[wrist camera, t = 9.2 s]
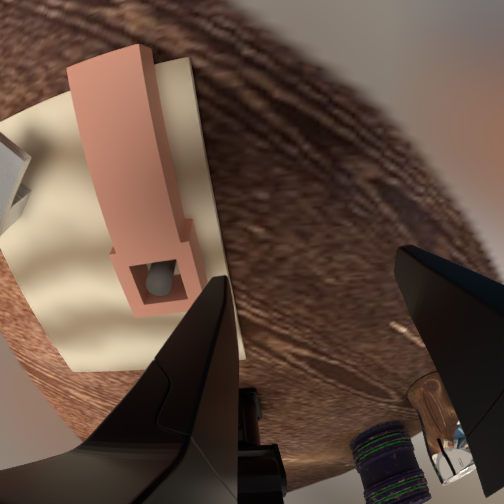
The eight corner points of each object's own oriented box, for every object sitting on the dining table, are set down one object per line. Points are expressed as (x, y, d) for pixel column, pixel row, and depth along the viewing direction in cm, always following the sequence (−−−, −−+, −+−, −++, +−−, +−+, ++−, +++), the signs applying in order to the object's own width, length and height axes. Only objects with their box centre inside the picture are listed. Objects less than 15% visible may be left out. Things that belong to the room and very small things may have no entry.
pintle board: (244, 349, 29) (248, 387, 25) (75, 363, 28) (64, 396, 25) (190, 58, 16) (181, 52, 12) (-27, 138, 16) (-63, 155, 12)
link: (207, 281, 23) (207, 308, 20) (142, 290, 23) (135, 317, 20) (160, 46, 15) (148, 40, 12) (81, 70, 15) (58, 71, 12)
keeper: (59, 142, 17) (24, 161, 13) (23, 219, 19) (-8, 249, 15) (29, 118, 15) (-10, 133, 12) (-4, 197, 18) (-38, 223, 14)
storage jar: (408, 412, 41) (439, 491, 28) (400, 435, 46) (425, 503, 33) (348, 433, 41) (372, 517, 28) (349, 453, 46) (368, 524, 34)
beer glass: (394, 402, 38) (429, 492, 25) (419, 371, 35) (465, 467, 22) (429, 397, 39) (465, 476, 26) (454, 367, 36) (499, 450, 23)
